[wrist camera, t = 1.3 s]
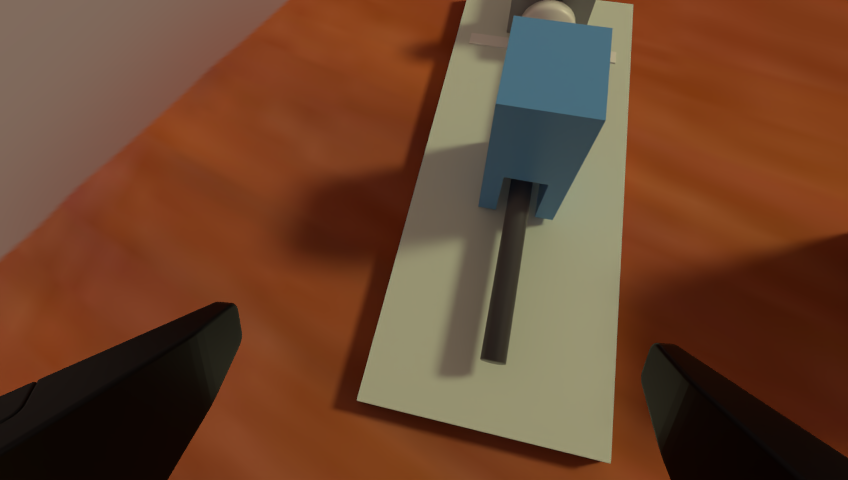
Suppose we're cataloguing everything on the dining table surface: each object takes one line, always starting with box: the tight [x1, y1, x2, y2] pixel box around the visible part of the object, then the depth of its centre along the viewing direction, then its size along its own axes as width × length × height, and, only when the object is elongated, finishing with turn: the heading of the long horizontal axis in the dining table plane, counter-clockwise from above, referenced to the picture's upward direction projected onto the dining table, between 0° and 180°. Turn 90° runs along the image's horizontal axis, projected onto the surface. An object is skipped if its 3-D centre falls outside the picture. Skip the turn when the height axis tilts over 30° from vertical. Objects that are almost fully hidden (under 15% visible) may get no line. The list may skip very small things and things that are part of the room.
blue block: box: [478, 16, 613, 220], centre depth 21 cm, size 5×4×8 cm
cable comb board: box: [357, 0, 633, 463], centre depth 24 cm, size 30×12×6 cm, turn 167°
